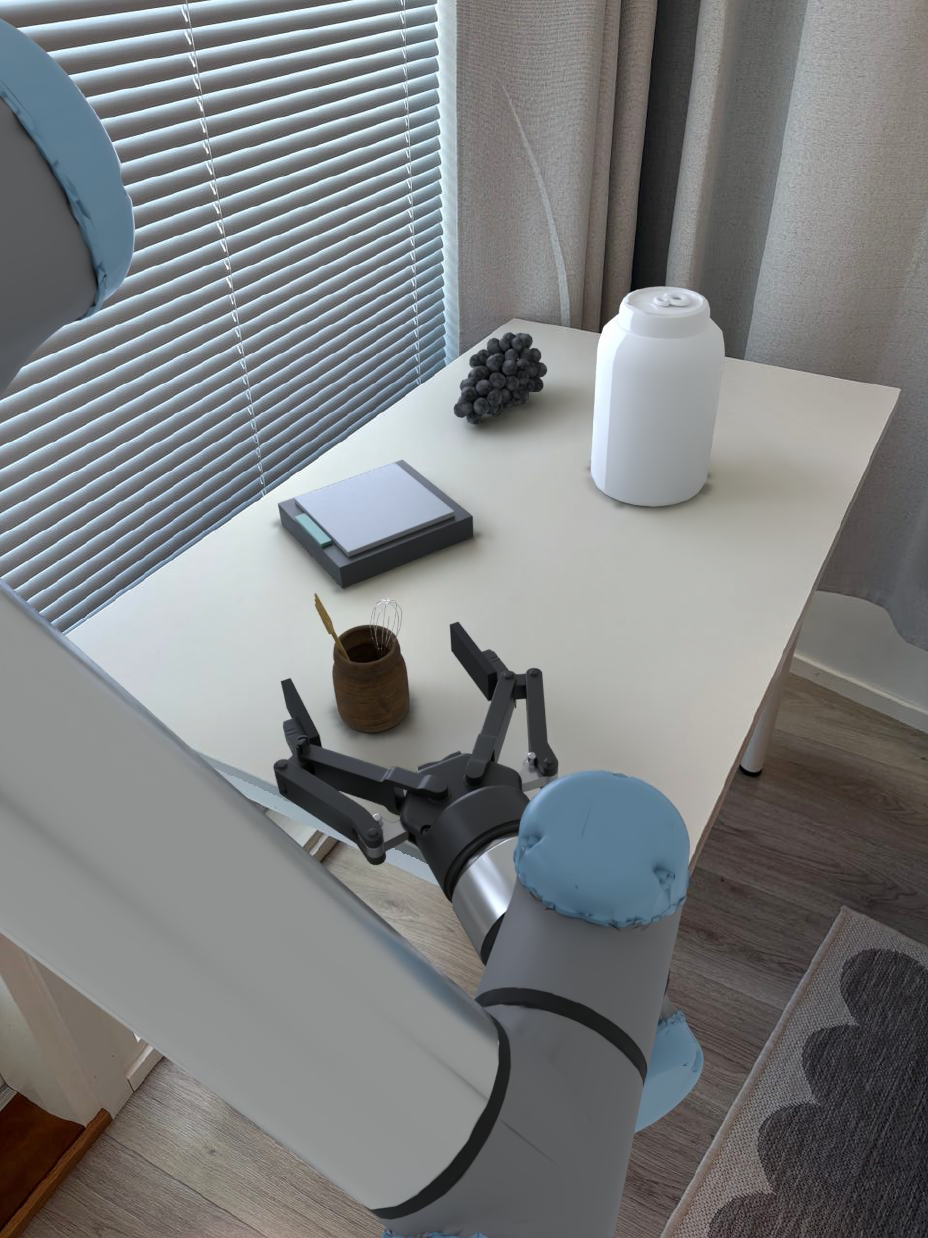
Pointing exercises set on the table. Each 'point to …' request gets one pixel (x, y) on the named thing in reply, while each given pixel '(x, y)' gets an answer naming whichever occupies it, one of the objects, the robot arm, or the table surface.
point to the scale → (375, 522)
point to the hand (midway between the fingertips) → (373, 663)
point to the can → (656, 397)
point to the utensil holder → (368, 674)
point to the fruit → (500, 377)
